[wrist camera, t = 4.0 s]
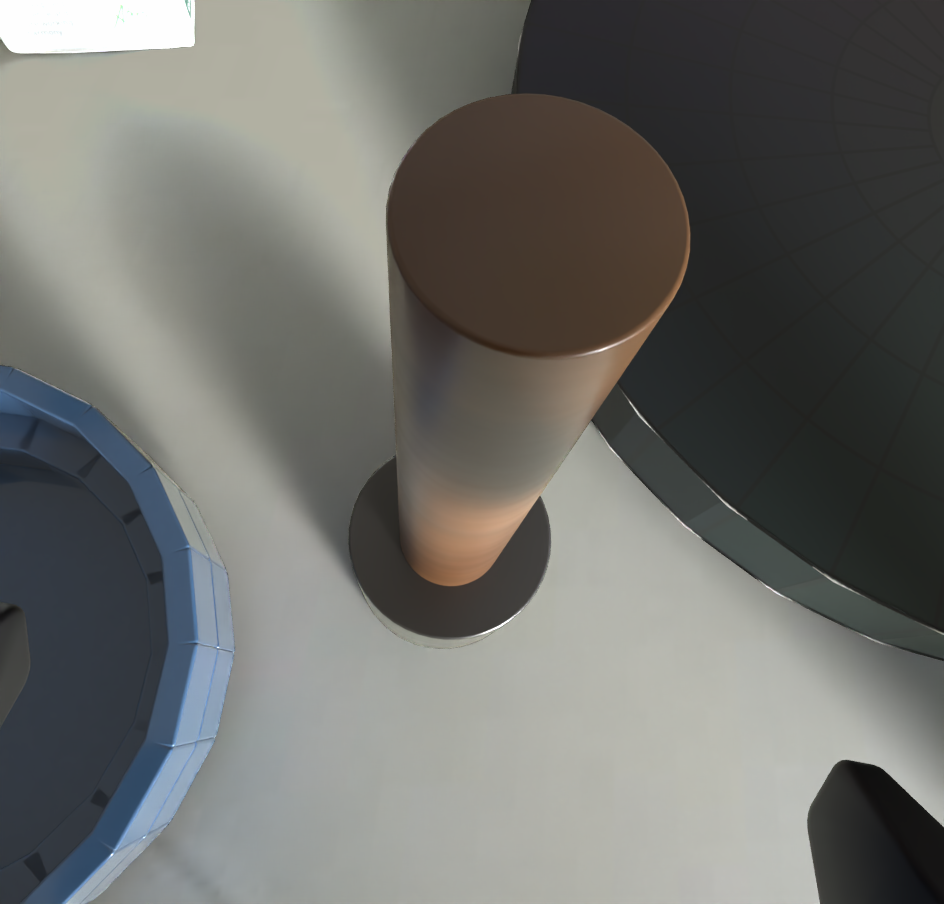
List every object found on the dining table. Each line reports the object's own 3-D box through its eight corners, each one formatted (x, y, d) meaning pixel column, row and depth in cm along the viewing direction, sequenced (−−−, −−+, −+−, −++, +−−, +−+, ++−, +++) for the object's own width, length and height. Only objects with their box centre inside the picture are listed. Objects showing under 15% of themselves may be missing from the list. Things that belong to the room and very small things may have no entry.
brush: (553, 523, 20) (907, 118, 6) (484, 679, 19) (729, 641, 5) (405, 453, 20) (402, -98, 6) (327, 602, 19) (91, 335, 5)
